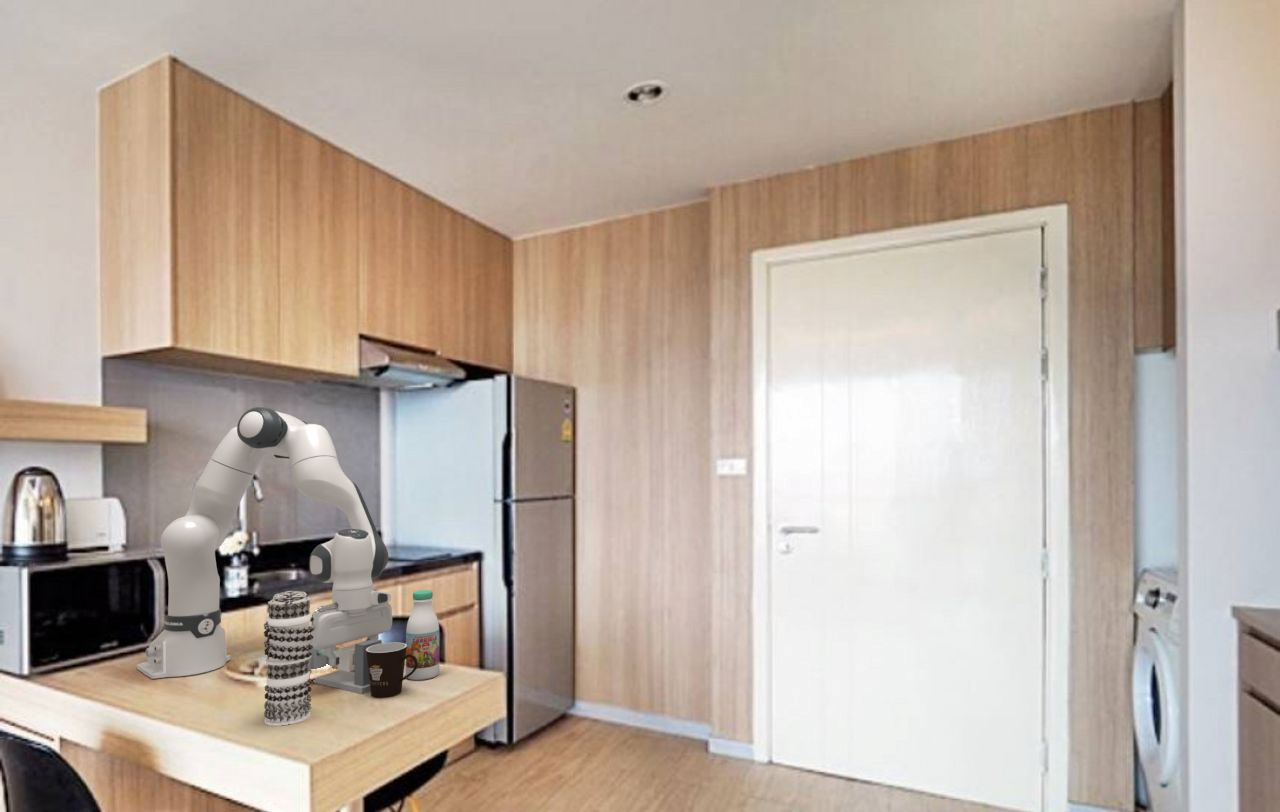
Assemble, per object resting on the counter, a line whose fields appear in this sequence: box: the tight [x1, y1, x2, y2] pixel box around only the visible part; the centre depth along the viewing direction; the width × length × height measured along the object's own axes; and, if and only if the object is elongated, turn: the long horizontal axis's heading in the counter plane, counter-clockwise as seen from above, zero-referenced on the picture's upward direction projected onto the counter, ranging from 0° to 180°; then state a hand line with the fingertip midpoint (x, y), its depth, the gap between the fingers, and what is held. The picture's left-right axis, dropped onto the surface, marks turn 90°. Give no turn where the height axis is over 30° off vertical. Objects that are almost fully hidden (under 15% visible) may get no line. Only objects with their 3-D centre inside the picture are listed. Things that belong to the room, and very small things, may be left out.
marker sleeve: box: [337, 643, 356, 672], centre depth 164 cm, size 4×5×5 cm
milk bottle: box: [405, 589, 440, 681], centre depth 169 cm, size 8×8×20 cm
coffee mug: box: [366, 641, 418, 699], centre depth 156 cm, size 12×9×10 cm
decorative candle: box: [263, 590, 314, 727], centre depth 143 cm, size 9×9×25 cm
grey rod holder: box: [309, 639, 383, 695], centre depth 165 cm, size 22×7×10 cm, turn 59°
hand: (352, 659), depth 164 cm, fingers open, 8 cm apart
